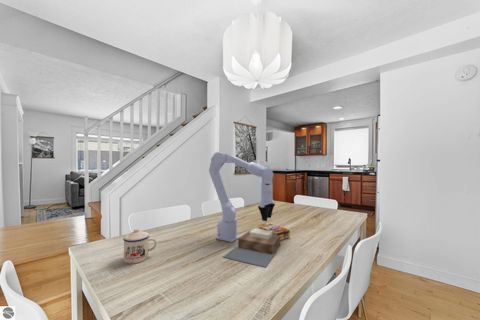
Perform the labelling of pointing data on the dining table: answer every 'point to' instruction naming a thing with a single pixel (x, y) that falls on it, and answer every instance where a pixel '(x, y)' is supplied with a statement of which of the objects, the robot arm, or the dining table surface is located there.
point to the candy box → (276, 230)
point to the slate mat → (249, 256)
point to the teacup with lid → (137, 246)
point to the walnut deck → (259, 243)
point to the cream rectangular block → (261, 233)
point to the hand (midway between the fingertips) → (266, 219)
